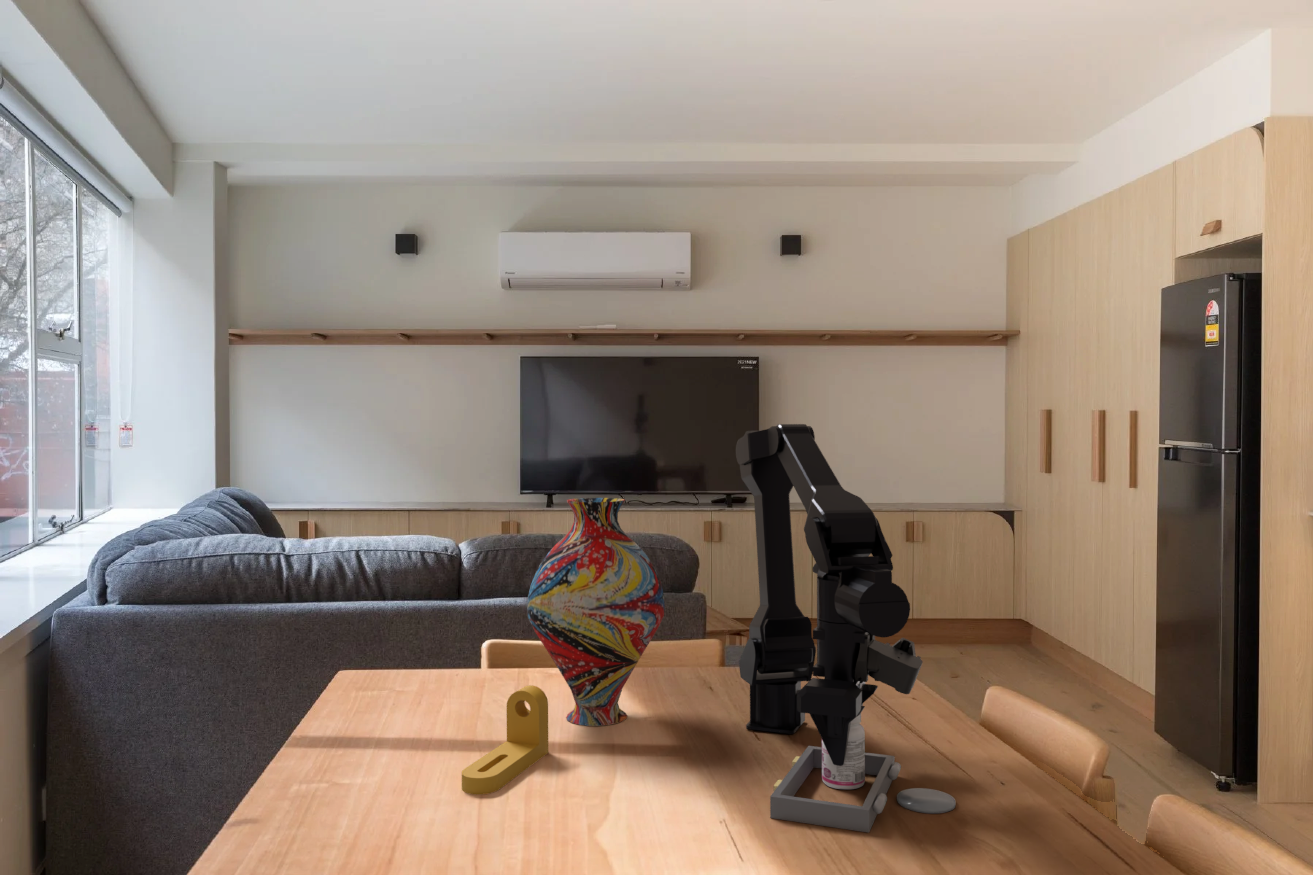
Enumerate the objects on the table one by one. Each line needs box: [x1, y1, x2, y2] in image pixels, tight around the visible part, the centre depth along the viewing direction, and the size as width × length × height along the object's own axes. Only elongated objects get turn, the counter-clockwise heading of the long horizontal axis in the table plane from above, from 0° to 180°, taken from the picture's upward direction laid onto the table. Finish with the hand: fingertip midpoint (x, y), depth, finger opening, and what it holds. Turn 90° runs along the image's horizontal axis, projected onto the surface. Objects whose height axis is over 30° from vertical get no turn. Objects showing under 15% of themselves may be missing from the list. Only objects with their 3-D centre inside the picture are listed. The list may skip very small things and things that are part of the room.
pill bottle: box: [821, 713, 866, 790], centre depth 110 cm, size 5×5×8 cm
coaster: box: [896, 787, 957, 814], centre depth 104 cm, size 6×6×1 cm
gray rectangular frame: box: [769, 745, 902, 833], centre depth 106 cm, size 12×17×2 cm
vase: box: [527, 497, 666, 727], centre depth 135 cm, size 19×19×30 cm
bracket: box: [461, 684, 549, 795], centre depth 114 cm, size 15×4×8 cm, turn 161°
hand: (843, 757), depth 110 cm, fingers closed on pill bottle, 5 cm apart
